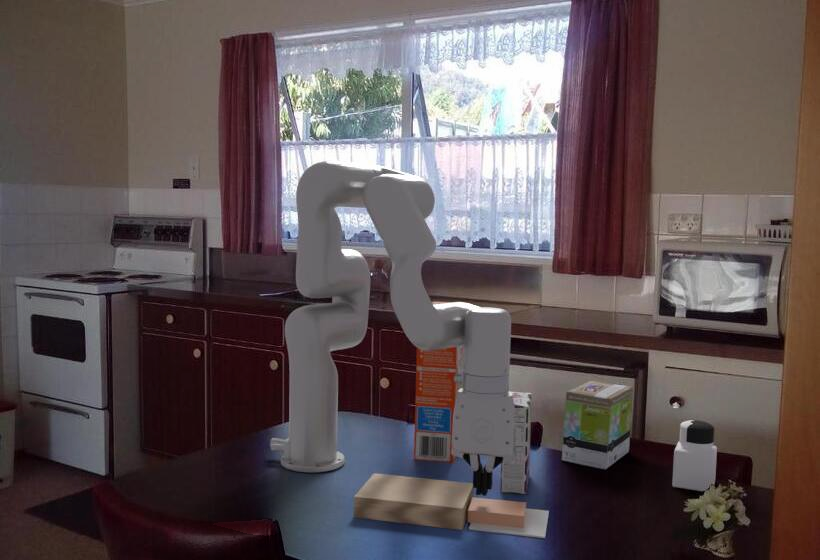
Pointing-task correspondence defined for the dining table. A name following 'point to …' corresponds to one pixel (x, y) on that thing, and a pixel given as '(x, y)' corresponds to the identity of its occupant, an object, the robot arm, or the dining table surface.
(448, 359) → the pasta box
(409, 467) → the dining table surface
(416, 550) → the dining table surface
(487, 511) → the block
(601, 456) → the tea box
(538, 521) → the mat
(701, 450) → the medicine bottle
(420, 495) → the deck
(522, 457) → the candy bar box
